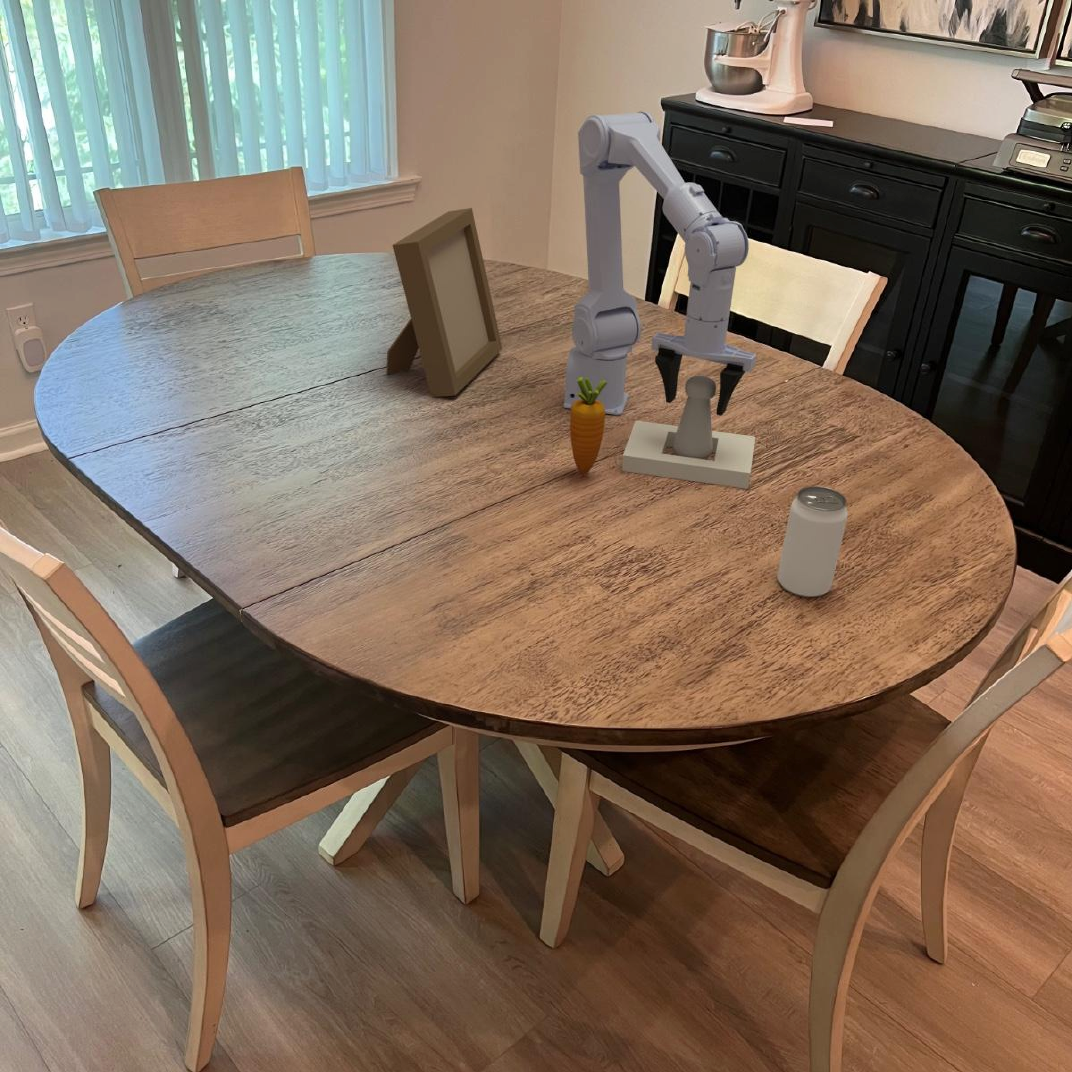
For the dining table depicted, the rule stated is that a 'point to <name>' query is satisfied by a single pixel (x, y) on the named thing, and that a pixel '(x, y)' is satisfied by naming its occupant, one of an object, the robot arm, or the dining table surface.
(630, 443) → the socket block
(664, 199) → the robot arm
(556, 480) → the dining table surface
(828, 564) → the can
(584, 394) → the carrot
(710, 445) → the salt shaker
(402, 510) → the dining table surface
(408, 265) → the photo frame
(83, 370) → the dining table surface
